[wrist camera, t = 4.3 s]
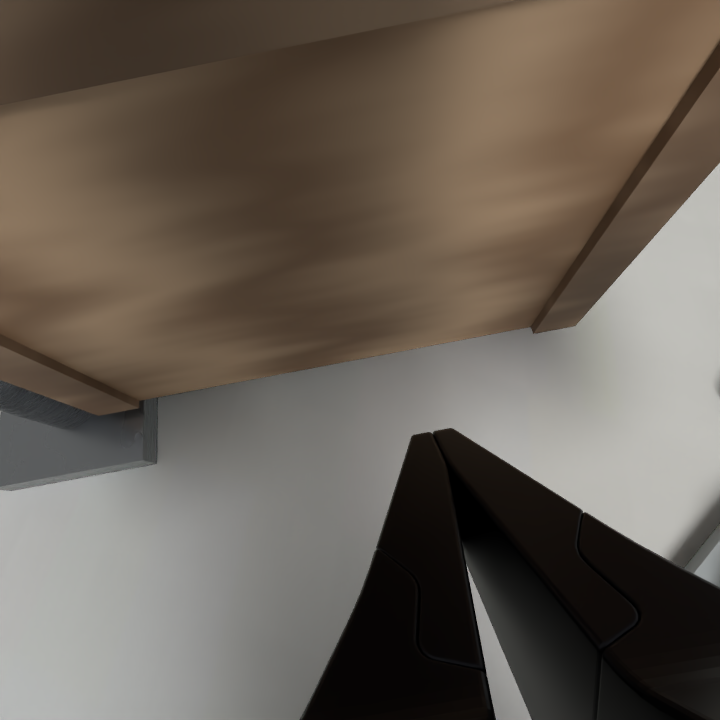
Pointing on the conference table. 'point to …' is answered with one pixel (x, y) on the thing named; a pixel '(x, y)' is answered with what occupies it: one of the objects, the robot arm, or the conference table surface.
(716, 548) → the office telephone
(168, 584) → the conference table surface
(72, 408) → the gate post
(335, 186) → the gate
